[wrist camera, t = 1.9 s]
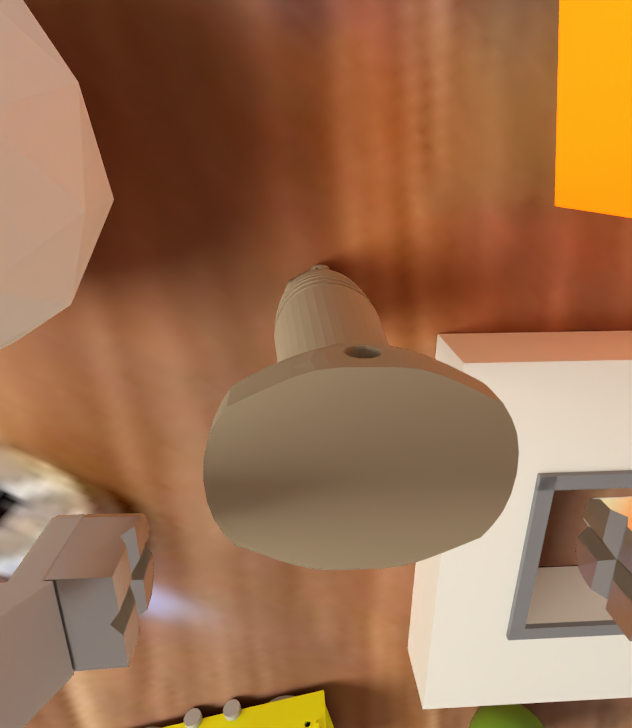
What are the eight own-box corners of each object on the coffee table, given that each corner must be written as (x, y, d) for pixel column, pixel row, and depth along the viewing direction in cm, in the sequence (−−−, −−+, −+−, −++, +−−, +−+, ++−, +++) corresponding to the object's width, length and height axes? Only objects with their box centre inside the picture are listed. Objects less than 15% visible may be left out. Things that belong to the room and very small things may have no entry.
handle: (381, 343, 25) (499, 564, 11) (253, 344, 25) (211, 573, 11) (387, 245, 23) (537, 365, 9) (249, 244, 23) (194, 368, 9)
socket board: (437, 333, 25) (466, 365, 21) (778, 328, 26) (866, 357, 22) (407, 648, 33) (424, 714, 29) (667, 635, 34) (718, 697, 30)
